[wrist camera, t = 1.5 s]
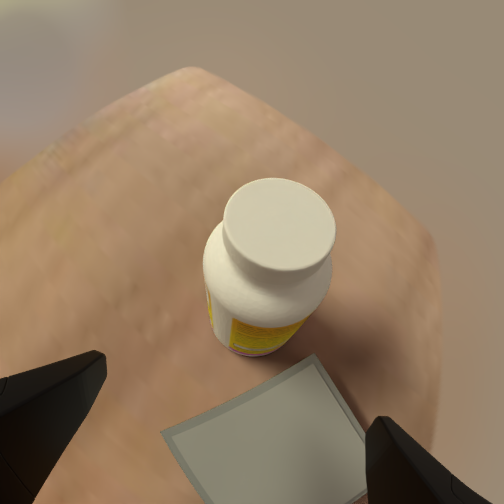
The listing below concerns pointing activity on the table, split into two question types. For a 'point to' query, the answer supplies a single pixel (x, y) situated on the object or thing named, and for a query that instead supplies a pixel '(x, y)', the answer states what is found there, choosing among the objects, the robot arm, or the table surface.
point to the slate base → (276, 444)
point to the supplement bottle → (267, 264)
